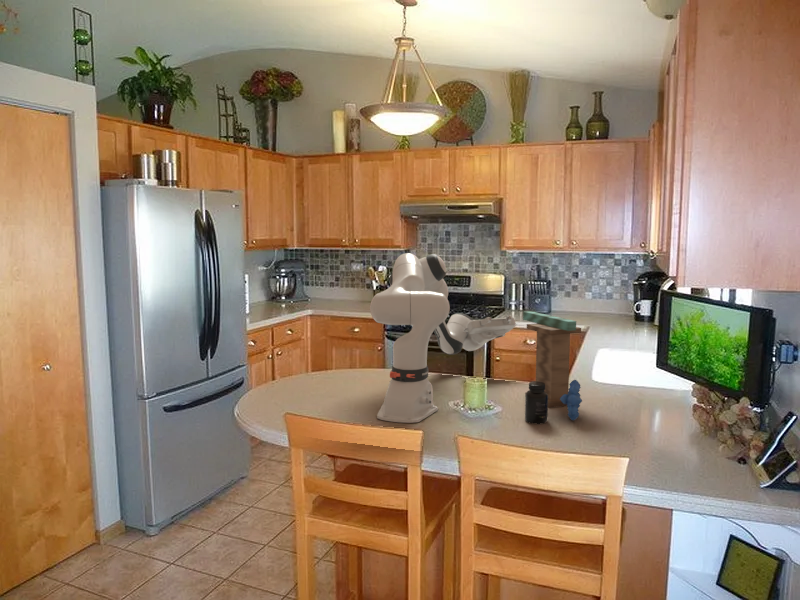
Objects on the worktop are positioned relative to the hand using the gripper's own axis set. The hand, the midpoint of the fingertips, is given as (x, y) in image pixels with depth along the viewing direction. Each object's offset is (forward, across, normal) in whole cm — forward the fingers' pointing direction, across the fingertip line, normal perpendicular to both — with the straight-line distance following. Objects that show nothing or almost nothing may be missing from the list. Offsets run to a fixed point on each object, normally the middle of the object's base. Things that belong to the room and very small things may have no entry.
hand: (500, 318), depth 233 cm
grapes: (+33, -6, +47) cm, 58 cm away
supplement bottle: (+31, -18, +46) cm, 59 cm away
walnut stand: (+17, 0, +38) cm, 41 cm away
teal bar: (+28, 0, +14) cm, 31 cm away
